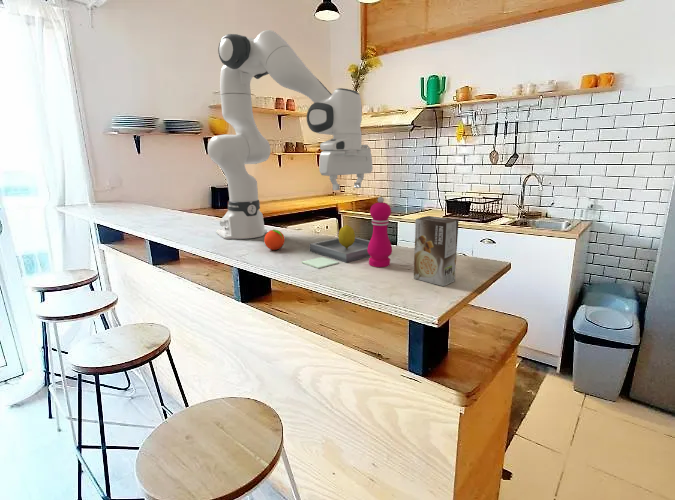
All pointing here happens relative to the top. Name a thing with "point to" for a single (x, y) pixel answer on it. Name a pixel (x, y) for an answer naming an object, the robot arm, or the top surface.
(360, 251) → the slate tray
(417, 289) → the top surface
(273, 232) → the clementine
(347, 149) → the robot arm
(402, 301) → the top surface
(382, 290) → the top surface
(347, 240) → the lemon
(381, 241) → the pepper mill
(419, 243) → the coffee box
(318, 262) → the green mat
